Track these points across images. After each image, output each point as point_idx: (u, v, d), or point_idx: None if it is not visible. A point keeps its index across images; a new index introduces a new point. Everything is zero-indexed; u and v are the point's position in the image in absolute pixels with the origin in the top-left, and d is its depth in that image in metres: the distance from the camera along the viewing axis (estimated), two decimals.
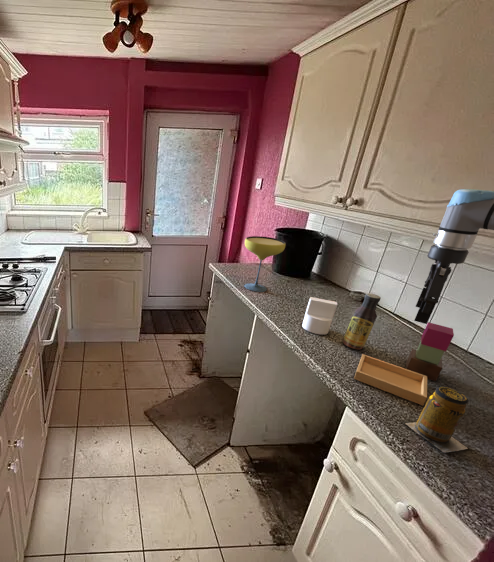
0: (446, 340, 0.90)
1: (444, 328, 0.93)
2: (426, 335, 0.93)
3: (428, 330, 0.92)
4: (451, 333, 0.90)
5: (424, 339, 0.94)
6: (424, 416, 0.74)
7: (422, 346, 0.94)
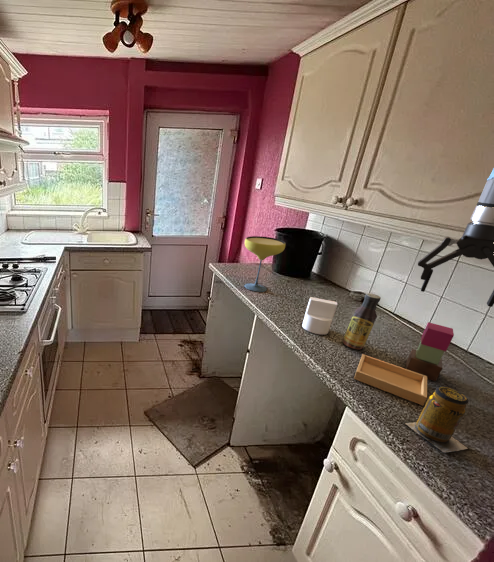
0: (446, 340, 0.90)
1: (444, 328, 0.93)
2: (426, 335, 0.93)
3: (428, 330, 0.92)
4: (451, 333, 0.90)
5: (424, 339, 0.94)
6: (424, 416, 0.74)
7: (422, 346, 0.94)
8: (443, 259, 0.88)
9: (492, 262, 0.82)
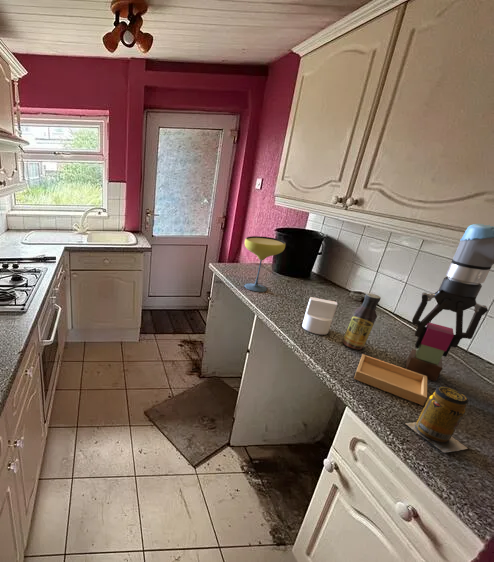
0: (446, 340, 0.90)
1: (444, 328, 0.93)
2: (426, 335, 0.93)
3: (428, 330, 0.92)
4: (451, 333, 0.90)
5: (424, 339, 0.94)
6: (424, 416, 0.74)
7: (422, 346, 0.94)
8: (430, 315, 0.93)
9: (458, 316, 0.88)
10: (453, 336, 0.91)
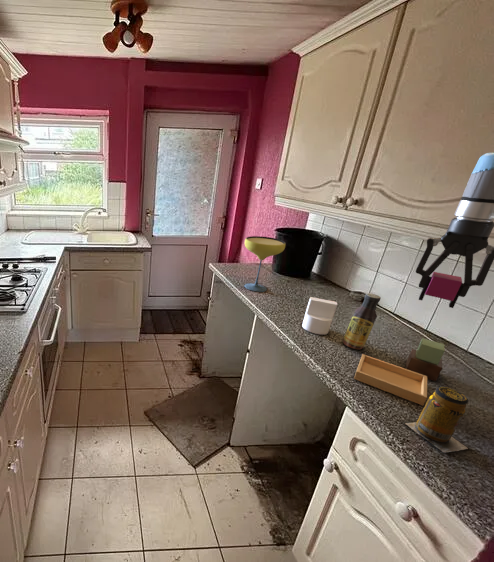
0: (453, 289, 0.81)
1: (452, 276, 0.84)
2: (431, 284, 0.84)
3: (433, 278, 0.84)
4: (459, 280, 0.81)
5: (429, 289, 0.85)
6: (424, 416, 0.74)
7: (422, 346, 0.94)
8: (436, 262, 0.84)
9: (467, 260, 0.79)
10: (461, 284, 0.82)
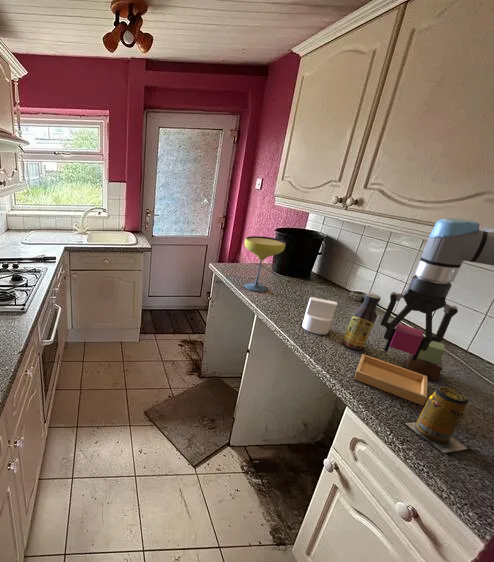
0: (414, 343, 0.85)
1: (414, 330, 0.87)
2: (395, 337, 0.87)
3: (396, 332, 0.87)
4: (420, 335, 0.84)
5: (393, 342, 0.88)
6: (424, 416, 0.74)
7: None
8: (399, 317, 0.87)
9: (427, 317, 0.82)
10: (422, 339, 0.85)
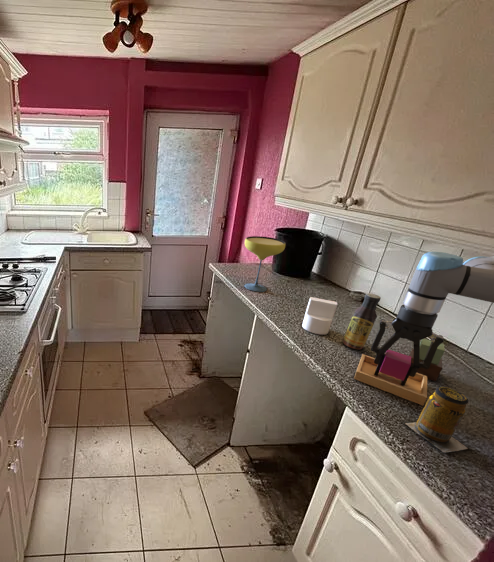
0: (403, 370, 0.88)
1: (403, 356, 0.90)
2: (384, 363, 0.90)
3: (386, 358, 0.90)
4: (408, 362, 0.87)
5: (382, 367, 0.91)
6: (424, 416, 0.74)
7: (422, 346, 0.94)
8: (388, 343, 0.90)
9: (414, 345, 0.86)
10: (411, 365, 0.88)
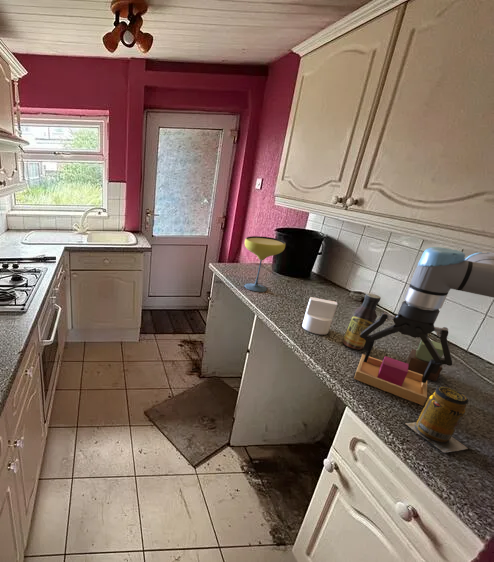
0: (400, 377, 0.89)
1: (400, 363, 0.91)
2: (381, 370, 0.91)
3: (383, 366, 0.91)
4: (405, 370, 0.88)
5: (380, 374, 0.92)
6: (424, 416, 0.74)
7: (422, 346, 0.94)
8: (382, 333, 0.90)
9: (424, 342, 0.84)
10: (432, 362, 0.85)
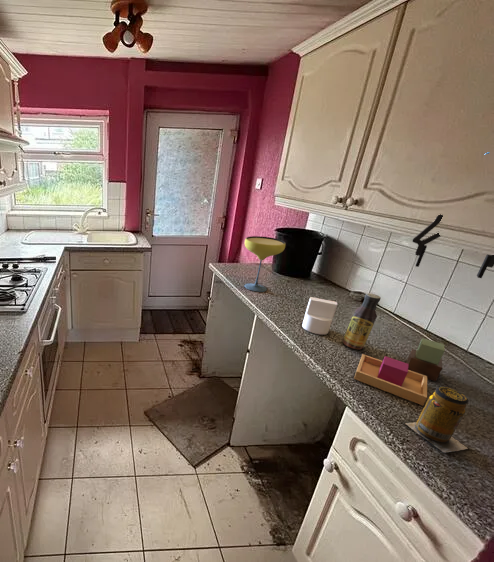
0: (400, 377, 0.89)
1: (400, 363, 0.91)
2: (381, 370, 0.91)
3: (383, 366, 0.91)
4: (405, 370, 0.88)
5: (380, 374, 0.92)
6: (424, 416, 0.74)
7: (422, 346, 0.94)
8: (436, 234, 0.94)
9: None
10: (489, 255, 0.88)
